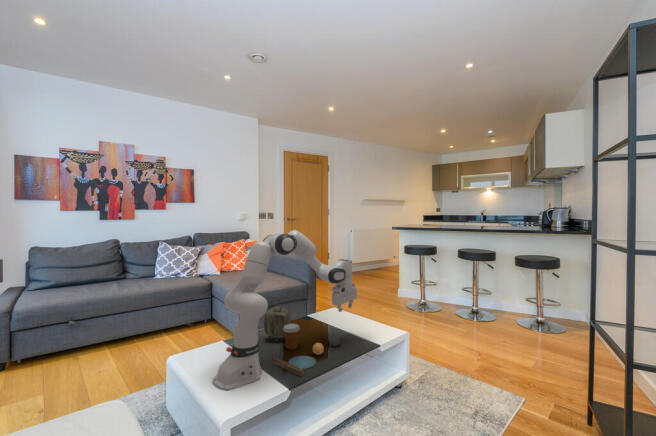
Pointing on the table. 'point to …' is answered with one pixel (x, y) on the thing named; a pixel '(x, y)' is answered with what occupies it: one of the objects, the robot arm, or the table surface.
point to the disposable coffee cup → (291, 335)
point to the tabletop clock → (276, 320)
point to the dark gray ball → (334, 340)
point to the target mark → (302, 362)
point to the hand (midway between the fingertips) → (345, 309)
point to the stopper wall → (288, 367)
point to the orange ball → (318, 348)
